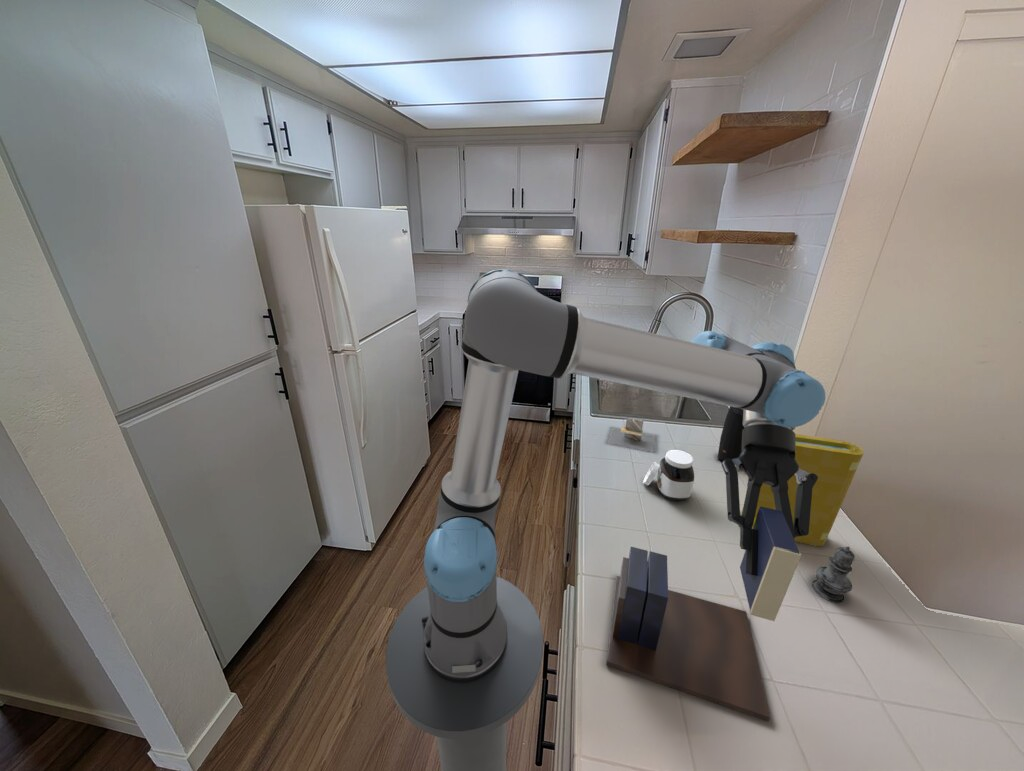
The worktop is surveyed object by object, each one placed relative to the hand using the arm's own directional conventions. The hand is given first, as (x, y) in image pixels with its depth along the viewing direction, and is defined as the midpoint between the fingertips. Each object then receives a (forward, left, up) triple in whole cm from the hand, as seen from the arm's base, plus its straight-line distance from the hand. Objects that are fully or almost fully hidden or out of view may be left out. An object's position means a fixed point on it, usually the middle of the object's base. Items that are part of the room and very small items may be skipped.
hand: (765, 577), depth 57 cm
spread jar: (-11, +45, -20) cm, 50 cm away
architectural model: (-21, +70, -20) cm, 75 cm away
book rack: (-9, +1, -20) cm, 22 cm away
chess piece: (+20, +22, -20) cm, 36 cm away
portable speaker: (+9, +67, -20) cm, 70 cm away
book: (+16, +38, -20) cm, 46 cm away
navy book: (0, +1, -5) cm, 5 cm away
